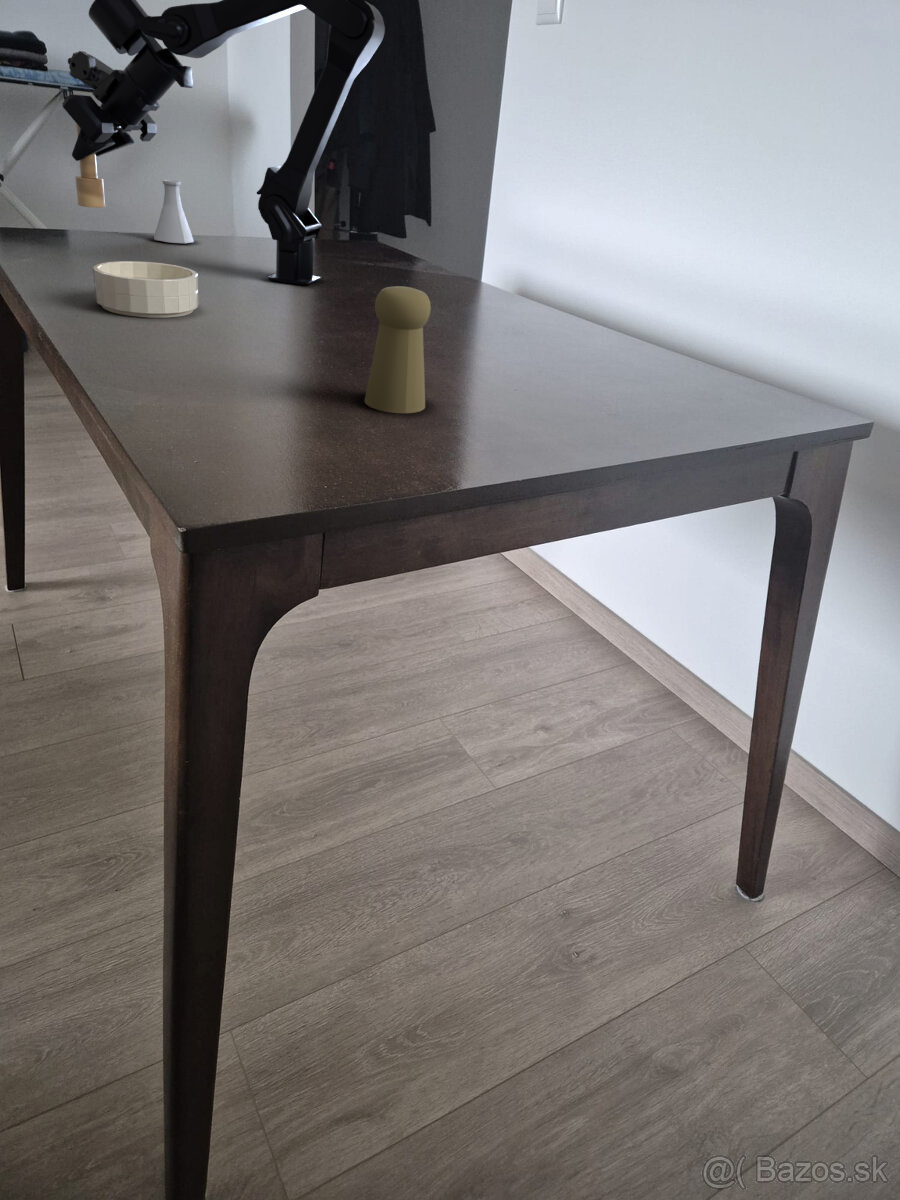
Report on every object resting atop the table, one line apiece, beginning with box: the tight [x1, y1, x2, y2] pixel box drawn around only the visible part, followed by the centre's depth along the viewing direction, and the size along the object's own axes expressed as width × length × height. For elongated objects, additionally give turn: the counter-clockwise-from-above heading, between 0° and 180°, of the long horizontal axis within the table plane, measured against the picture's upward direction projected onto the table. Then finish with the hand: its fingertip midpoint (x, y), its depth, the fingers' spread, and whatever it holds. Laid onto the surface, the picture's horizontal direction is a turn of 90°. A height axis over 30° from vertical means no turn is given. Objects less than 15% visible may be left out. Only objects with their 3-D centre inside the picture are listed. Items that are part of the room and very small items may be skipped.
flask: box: [153, 179, 195, 244], centre depth 155 cm, size 7×7×10 cm
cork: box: [364, 285, 432, 414], centre depth 83 cm, size 6×6×11 cm
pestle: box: [74, 122, 106, 209], centre depth 133 cm, size 4×4×14 cm
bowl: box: [92, 260, 200, 319], centre depth 109 cm, size 12×12×4 cm
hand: (79, 158), depth 133 cm, fingers closed on pestle, 2 cm apart
